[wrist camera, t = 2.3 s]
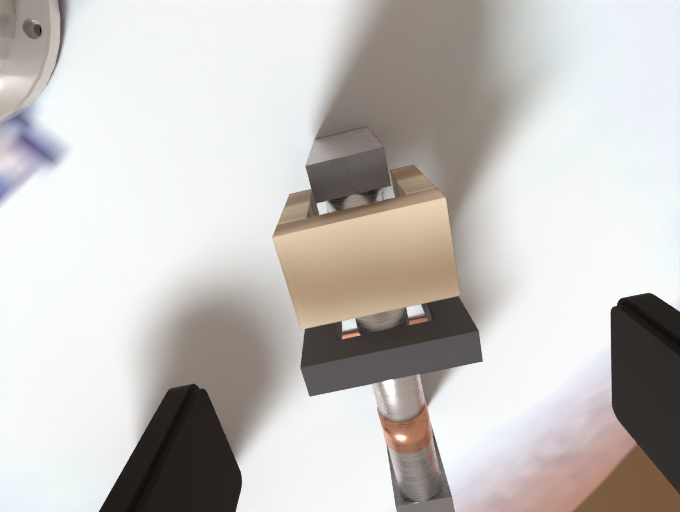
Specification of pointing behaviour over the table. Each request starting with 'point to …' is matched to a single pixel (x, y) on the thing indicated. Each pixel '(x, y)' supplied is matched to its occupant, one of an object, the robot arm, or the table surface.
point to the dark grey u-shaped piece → (390, 349)
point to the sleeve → (367, 253)
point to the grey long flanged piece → (384, 326)
